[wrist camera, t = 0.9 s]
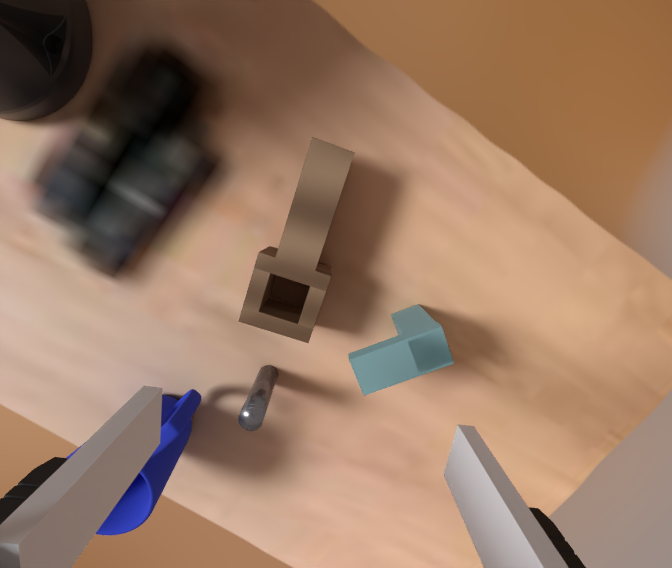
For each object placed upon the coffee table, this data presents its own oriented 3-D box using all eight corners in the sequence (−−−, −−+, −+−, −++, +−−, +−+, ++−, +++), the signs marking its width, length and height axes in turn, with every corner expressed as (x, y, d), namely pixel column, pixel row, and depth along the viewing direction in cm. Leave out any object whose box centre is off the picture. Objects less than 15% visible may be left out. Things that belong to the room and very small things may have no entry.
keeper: (345, 328, 34) (349, 359, 27) (417, 302, 33) (441, 326, 26) (356, 357, 35) (363, 395, 27) (427, 331, 34) (454, 363, 27)
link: (300, 144, 30) (294, 130, 25) (365, 167, 31) (371, 159, 26) (252, 305, 33) (238, 321, 28) (311, 324, 34) (308, 343, 29)
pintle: (256, 369, 35) (234, 414, 27) (273, 362, 35) (256, 406, 27) (263, 384, 35) (244, 433, 27) (280, 378, 35) (266, 425, 27)
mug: (241, 398, 35) (208, 469, 26) (167, 463, 37) (109, 553, 27) (185, 347, 34) (127, 400, 24) (110, 416, 36) (27, 492, 26)
